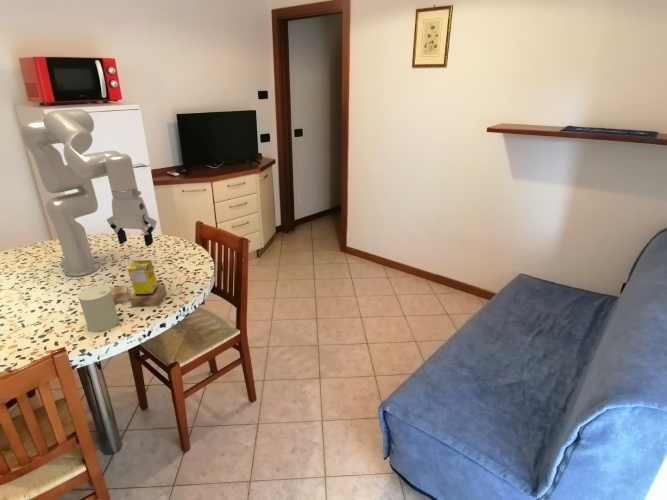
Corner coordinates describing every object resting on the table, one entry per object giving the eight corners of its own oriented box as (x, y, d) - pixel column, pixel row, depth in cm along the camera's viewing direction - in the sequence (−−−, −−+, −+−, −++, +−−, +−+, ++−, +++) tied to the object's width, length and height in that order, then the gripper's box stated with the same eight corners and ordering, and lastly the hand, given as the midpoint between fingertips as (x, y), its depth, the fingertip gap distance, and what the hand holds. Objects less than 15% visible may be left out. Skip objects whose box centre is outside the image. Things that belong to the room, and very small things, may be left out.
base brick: (132, 308, 141) (129, 298, 140) (141, 295, 150) (139, 285, 148) (158, 307, 142) (156, 297, 140) (166, 294, 150) (164, 284, 148)
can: (112, 331, 128) (103, 297, 123) (81, 332, 128) (71, 299, 123) (123, 315, 137) (115, 283, 132) (95, 316, 136) (85, 284, 131)
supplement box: (158, 285, 147) (151, 259, 142) (152, 295, 141) (145, 267, 136) (141, 286, 146) (134, 260, 141) (135, 296, 141) (127, 268, 136)
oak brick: (110, 305, 143) (107, 295, 141) (111, 297, 148) (108, 288, 146) (128, 302, 145) (126, 292, 143) (129, 294, 150) (127, 284, 148)
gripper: (156, 191, 132) (166, 240, 139) (109, 189, 135) (120, 237, 142) (143, 198, 125) (153, 249, 132) (93, 196, 128) (105, 246, 135)
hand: (136, 243), depth 137 cm, fingers open, 9 cm apart
